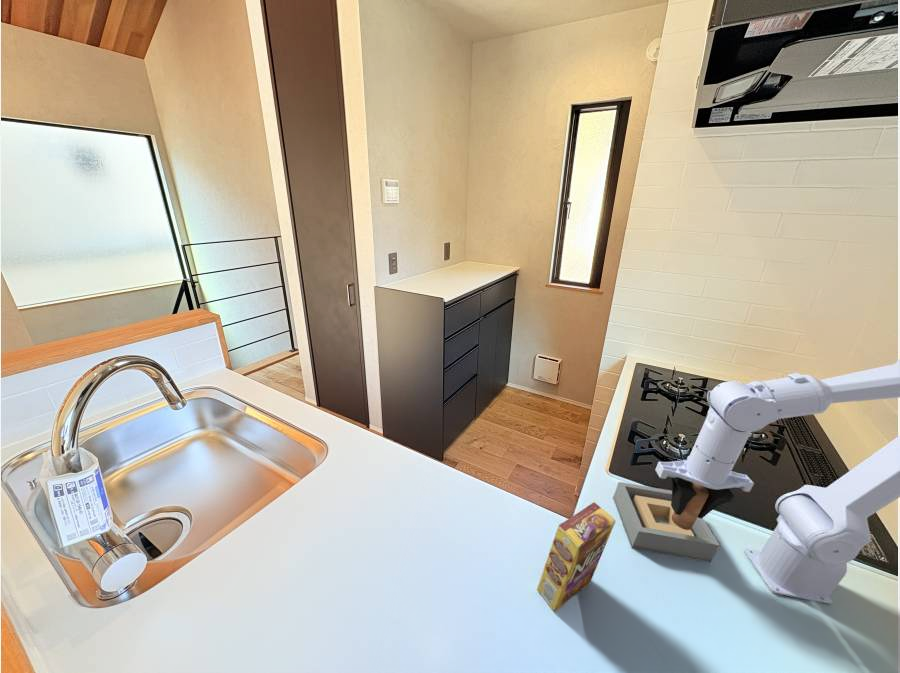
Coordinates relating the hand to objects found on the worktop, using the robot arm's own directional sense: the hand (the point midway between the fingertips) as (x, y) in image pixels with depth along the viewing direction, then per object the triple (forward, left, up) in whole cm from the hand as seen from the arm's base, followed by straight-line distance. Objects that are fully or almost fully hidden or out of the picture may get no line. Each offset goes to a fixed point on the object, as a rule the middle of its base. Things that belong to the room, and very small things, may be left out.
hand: (686, 511), depth 63 cm
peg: (0, 0, -2) cm, 2 cm away
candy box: (+21, +12, -10) cm, 26 cm away
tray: (0, -4, -9) cm, 10 cm away
